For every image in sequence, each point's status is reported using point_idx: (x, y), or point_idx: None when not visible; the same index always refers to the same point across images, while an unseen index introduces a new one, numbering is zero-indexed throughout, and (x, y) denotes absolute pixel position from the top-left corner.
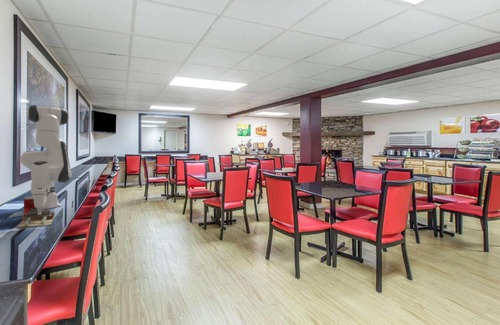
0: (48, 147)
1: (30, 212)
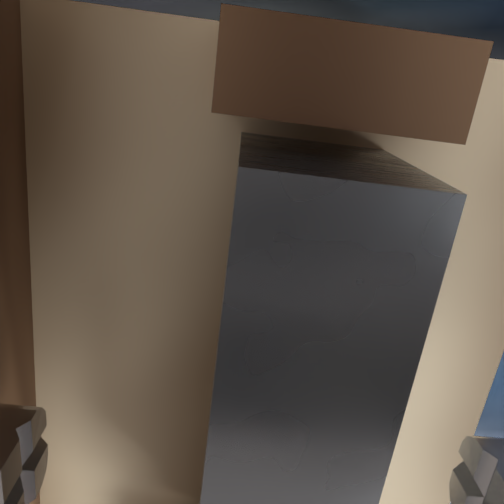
0: None
1: (232, 229)
